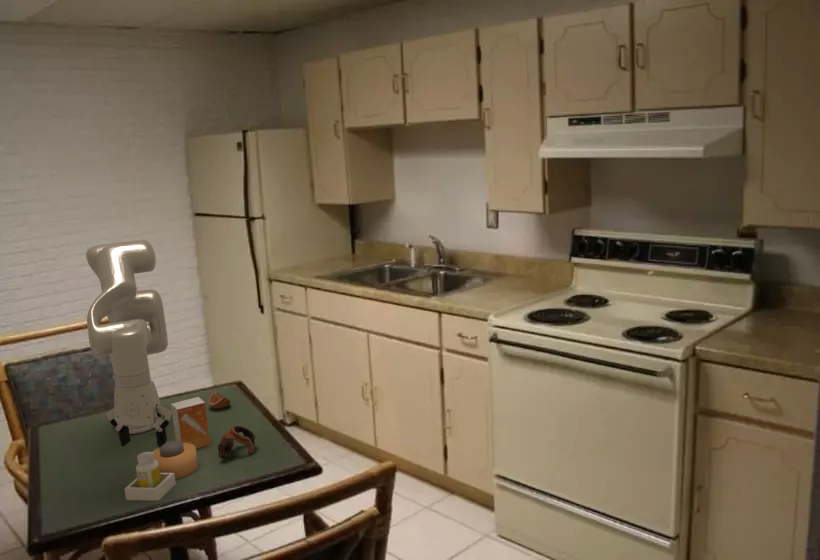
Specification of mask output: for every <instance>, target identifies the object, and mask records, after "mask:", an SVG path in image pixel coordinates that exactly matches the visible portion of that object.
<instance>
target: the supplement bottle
mask: <svg viewBox="0 0 820 560" xmlns="http://www.w3.org/2000/svg"><path fill="white" fill-rule="evenodd" d="M154 459H155V456H154V453H153V452H152V451H145V452H141V453H139V454H138V455H136V461H137V465H136V466H135V472H136V478H137V479H138V485H139V487H147V488H156V487H157V486H158V485H159V484H160V483H161V482H162V481H161V475H160V469H159V464H158V462H157V461H156V460H154Z"/></svg>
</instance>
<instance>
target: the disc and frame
mask: <svg viewBox="0 0 820 560" xmlns="http://www.w3.org/2000/svg"><path fill="white" fill-rule="evenodd" d="M151 452H153V453H154V456H155V459H154V460H156V461H157V462H158V464H159V469H160V475H161V481H162V482H161V483H160V484H159V485H158V486H157V487H156V488H147V487H139V485H138V479H137V477H136V478H135V479H134V480H133V481H132V482H130V483H129V484H128V485H127V486H126V487H125V488H124V493H125V500H126V501H147V502H148V501H150V502H152V501H153V502H155V501H156V502H158V501H160V500H161V499H162V498H163V497H164V496H165V495H167V493H168V492H170V490H171V489H172V488H173V487H174V486H176V484H177V483H176V480H177V479H182V478H184V477H188V476H189V475H191V474H193V473H195V471H197V470H198V468H199V461H198V454H197V449H196V447H195V445H193V444H190V443H183V442H182V441H178V440H176V439H175V440H170V441H166V443H165V444H164V445H163V446H161V447H158V448H155V449H154V450H152V451H151Z"/></svg>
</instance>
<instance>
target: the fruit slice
mask: <svg viewBox="0 0 820 560" xmlns="http://www.w3.org/2000/svg"><path fill="white" fill-rule="evenodd" d="M207 404H208V406H210V407H211V408H213V409H224V408H225V407H227V406H228V405H230V404H231V400H230V399H229V398H226V397H225V396H224V395H222V394H220V393H219V392H218V391H216V390H213V391H212V393H211V394H210V396H209V397H208V401H207Z"/></svg>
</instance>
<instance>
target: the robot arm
mask: <svg viewBox="0 0 820 560" xmlns="http://www.w3.org/2000/svg"><path fill="white" fill-rule="evenodd" d="M85 257H86V261H87V264H88V266H89V267H90V269H91V270H92V272H93V273H94V274H95V275H96V276H97V278H98V280H99V281H100V288H101V292H100V294H99V295H98V296H97V297H96V298H95V299H94V301H93V302H92V304H91V306H90V308H89V309H88V312H87V318H86V324H87V325H86V327H87V332H88V333H87V335H88V341H89V346H90V348H91V351H92V352H93V353H94V354H96V355H98V356H107V355H109V359H110V361H111V362H110V363H111V366H112V370H113V375H112V380H114V382H115V383H114V384H115V386H114V395H113V404H114V408H111V409H110V410H109V411H107V412H106V413H105V416H106V418H108V420H109V423H110V424H111V425H112V426H113V427H114V428H115V431H117V432H118V438H119V441H120V444H121V445H120V446H121V447H125V446H126V445H127V444H128V445H129V443H130V442H131V441H132V440H131V435H134V434H140V433H145V432H148V431H150V430H153V429H155V430H156V432H155V439H156V444H157V445H156V446H157V447H158V448H159V447H161V446H163V445H164V444H165V443H166V442H168V441H167V440H168V438H167V437H168V436H167V430H166V428H167V427H168V425H170V424H171V422H172V420H173V412H172V410H170V409H168V408H166V407H163V406H161V400H160V397H159V394H158V390H157V387H156V384H155V382H154V381H153V380H151V373H150V372H151V371H150V365H149V358H148V356H149V355H150V356H151V355H155V354H159V353H162V352H163V353H164V351H166V350H167V348H168V343H169V340H168V339H169V338H168V331H167V324H166V318H165V317H166V316H165V309H164V305H163V300H162V297H161V294H160V293H159V292H158V291H157V290H155V289H152V288H151V289H143V290H138V289H137V283H136V279H135V274H143V273H149V272H153V271H154V269H156V263H157V260H156V253H155V250H154V248H153V246H152V244H151V242H149V241H148V240H146V239H140V240H130V241H122V242H111V243H104V244H97V245H93V246H91V247H89V248H88V249H87V250H86V253H85ZM106 317H107V320H108V323H103V324H100V323H101V322H102V320H103V319H105V318H106ZM162 416H164V419H163V418H162Z"/></svg>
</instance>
